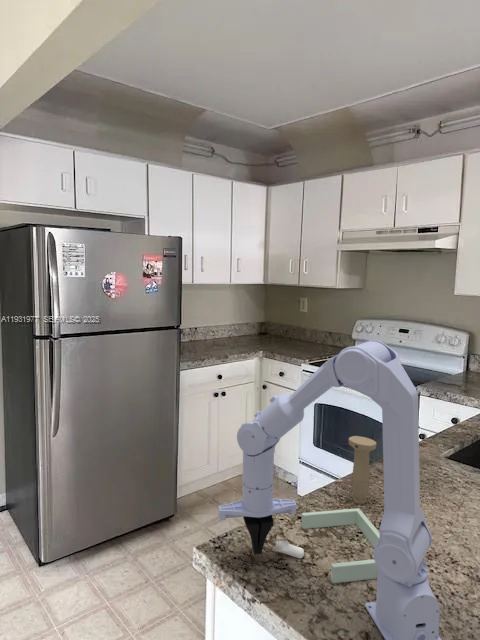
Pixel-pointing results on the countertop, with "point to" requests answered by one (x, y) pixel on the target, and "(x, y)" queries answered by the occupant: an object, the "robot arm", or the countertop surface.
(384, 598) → the robot arm
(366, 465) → the handle
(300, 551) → the small white plastic part
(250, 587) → the countertop surface
